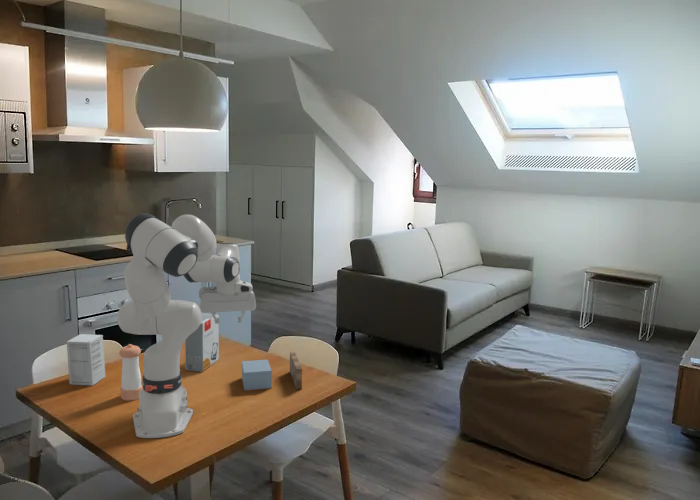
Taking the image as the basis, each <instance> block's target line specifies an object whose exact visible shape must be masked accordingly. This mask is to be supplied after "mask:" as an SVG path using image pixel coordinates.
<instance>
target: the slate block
mask: <svg viewBox="0 0 700 500" xmlns="http://www.w3.org/2000/svg"><path fill="white" fill-rule="evenodd" d="M272 374H273V373H272V368H271V365H270V362H269V359H258V360H257V359H256V360H255V359H254V360H242V361H241V380H242V387H243V390H244V391H252V390H253V391H254V390H264V389H272V387H273V386H272V384H273V383H272V382H273V381H272V377H273V375H272Z"/></svg>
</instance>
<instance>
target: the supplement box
mask: <svg viewBox="0 0 700 500" xmlns="http://www.w3.org/2000/svg"><path fill="white" fill-rule="evenodd" d="M103 337H104V335H103V334H84V333H80V334H78V335H76V336H74V337H72V338H71V339H69V340H67V341H66V351H67V363H68V364H67V367H68V379H69V380H68V383H69V385H75V386H91V387H92V386H95V384H97V383H98V382H100V381H101V380H103V379H104V378H106V368H105V367H106V366H105V351H104V338H103Z"/></svg>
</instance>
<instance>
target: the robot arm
mask: <svg viewBox="0 0 700 500" xmlns="http://www.w3.org/2000/svg"><path fill="white" fill-rule="evenodd" d="M124 232H125V233H124V239H125V242H126V251H127V253H129V254H131V255H132V256H133V257H132V259H131V260H130V261H129V262H128V264H127V265H126V266H125V269H124V272H123V274H124V284H125V286H126V287H125V288H126V290H127V293H128V295H129V297H130V300H129V301H126V302H125V303H123V304H122V305H121V307H120V308H119V310H118V313H117V317H116V318H117V324H118V326H119V328H120V330H121V331H122V332H124V333H127V334H132V335H139V336H140V335H143V336H145V335H146V336H147V335H149V336H150V335H151V336H152V335H155V336H156V335H160V336H161V337H162V338H161V340H160V341H158V342H156V343H154V344H152V345H151V346H149V347H148V348H147V349H146V350H145V351H144V354H143V376H142V381H141V384H142V386H143V389H142V390H141V391H140V392H139V407H137V412H135V413H134V414H132V422H133V426H134V431H135V432H134V433H135V436H136V437H137V438H140V439H160V438H167V437H174V436H177V435H180V434H183V433H184V431H185V430H186V428H187V426H188V424H189V422H190V421H191V418H192V416H193V414H194V410H193V408H189V407H188V397H187V396H188V395H187V394H188V393H187V388H186V387H184V386H183V384H182V380H183V379H182V378H183V377H182V372H181V370H180V367H181V366H180V362H181V352H182V348H183V345H184V343H185V340H186V339H187V337H188V336H189V335H190V334H192V333H193V332H194V331H196V330H197V328H198V327H199V325H200V323H201V320H202V313H211V314H212V316H213V318H214V319H215V324H220V317H219V318H216V316H215V315H216V314H217V313H226V312H227V313H229V312H240V316H238V317H237V323H239V324H240V323H241V324H242V323H243V318H244V316H245V315H246V312H249V311H251V312H252V311H255V310H256V309H257V301H256V300H257V299H256V295H255V292H254V291H253V289H254V288H253V284H252V283H251V282H247V281H246V280H245V281H244V280H241V275H240V268H241V256H240V249H239V245H238V244H236V243H233V242H219V243H218V244H217V238H216V236H215V234H214V232H213V231H212V229H211V228H210V226H208V225H207V223H205V222H204V221H203V219H200V218H199V217H197V216H196V215H193V214H182V215H179V216H178V217H176V218H175V219H174V220H173V222H172V223H171V225H169V224H167V223H166V222H164V221H162V220H160V219H159V217H156V216H155V215H152V214H150V213H146V212H145V213H144V212H143V213H139V214H138V215H135V216H133V218H132V219H130V220H129V222H127V225H126V227H125V230H124ZM165 273H166V274H168V275H169V276H172V277H175V278H178V277H179V278H180V277H182V276H183V277H184V279H185V280H186V281H188V283H212V284H214V283H215V286H204V287H202V288H200V289H199V291H198V298H199V299H200V301H199V302H200V304H199V305H198V304H197V303H196V302H194V301H189V300H184V299H172V293H171V289H170V287H169V284H168V280H167V278H166V276H165Z"/></svg>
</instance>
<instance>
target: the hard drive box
mask: <svg viewBox="0 0 700 500" xmlns="http://www.w3.org/2000/svg"><path fill="white" fill-rule="evenodd" d="M201 313H202V312H201ZM215 316H216V318H219V319H220V317H219V314H217V313H216V315H215ZM219 324H220V323H219ZM219 324H215V319H214V318H213V316H212V313H209V312H206V313H202V320H201V323H200V325H199V327H198V328H197V330H196V331H194V332H193V333H192V334H190V335H189V336H188V337H187V339H186V340H185V341H184V343H185V347H184V348H185V352H184V354H185V356H184V357H185V362H184V363H185V370H186V371H192V372H199V373H200V372H204V371H206V370H207V369H209V367H211V366H212V365H214V364H215V363H216V362H218V361H219V359H220V358H219V354H220V352H219V350H220V349H219V348H220V345H219V342H220V340H219V336H220V335H219V331H220V329H219V328H220V327H219V326H220V325H219Z"/></svg>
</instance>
